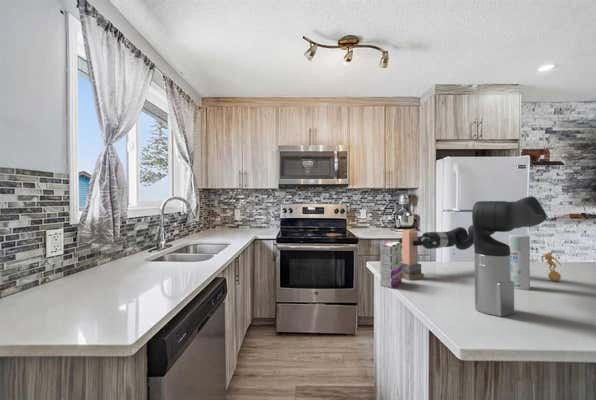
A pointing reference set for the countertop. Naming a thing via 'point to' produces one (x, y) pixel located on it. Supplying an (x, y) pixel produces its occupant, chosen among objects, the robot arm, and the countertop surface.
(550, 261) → the figurine
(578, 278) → the countertop surface
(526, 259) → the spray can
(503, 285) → the robot arm
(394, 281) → the candy bar box
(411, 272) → the tower stand
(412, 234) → the terracotta brick
